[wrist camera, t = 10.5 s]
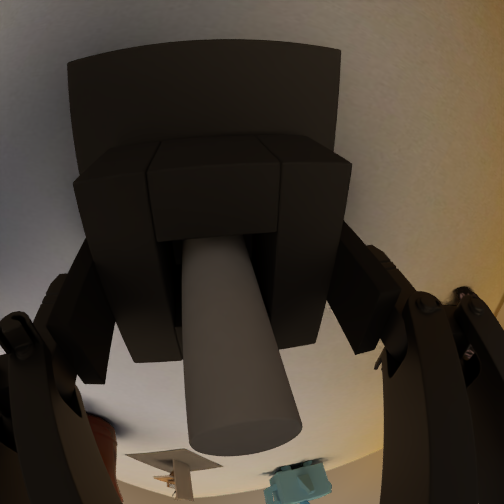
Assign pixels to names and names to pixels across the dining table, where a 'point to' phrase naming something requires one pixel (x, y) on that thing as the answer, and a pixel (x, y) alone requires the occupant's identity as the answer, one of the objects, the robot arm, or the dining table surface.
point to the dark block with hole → (213, 228)
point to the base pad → (224, 247)
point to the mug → (106, 446)
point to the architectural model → (176, 468)
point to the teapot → (298, 485)
